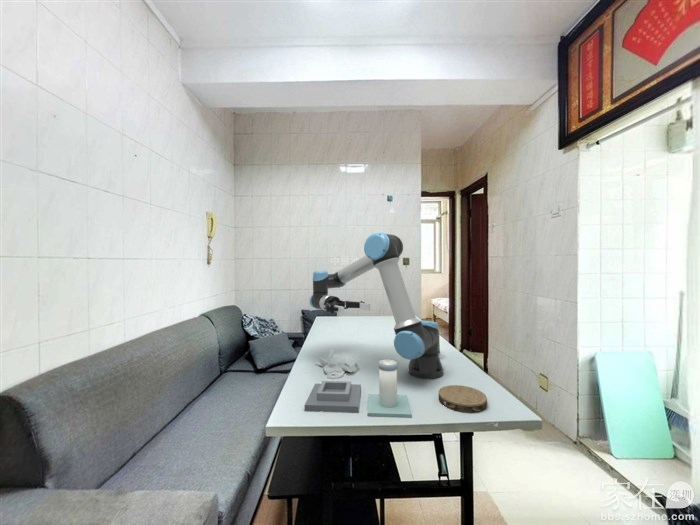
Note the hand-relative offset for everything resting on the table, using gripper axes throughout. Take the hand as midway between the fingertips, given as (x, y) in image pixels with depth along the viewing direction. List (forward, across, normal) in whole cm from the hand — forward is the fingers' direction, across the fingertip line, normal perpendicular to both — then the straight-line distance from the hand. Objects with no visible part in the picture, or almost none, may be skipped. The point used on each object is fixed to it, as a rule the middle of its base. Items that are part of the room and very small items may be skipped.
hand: (356, 308), depth 125 cm
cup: (+25, +5, -29) cm, 39 cm away
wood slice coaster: (+38, -18, -30) cm, 52 cm away
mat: (+25, +5, -30) cm, 39 cm away
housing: (+10, +17, -30) cm, 36 cm away
